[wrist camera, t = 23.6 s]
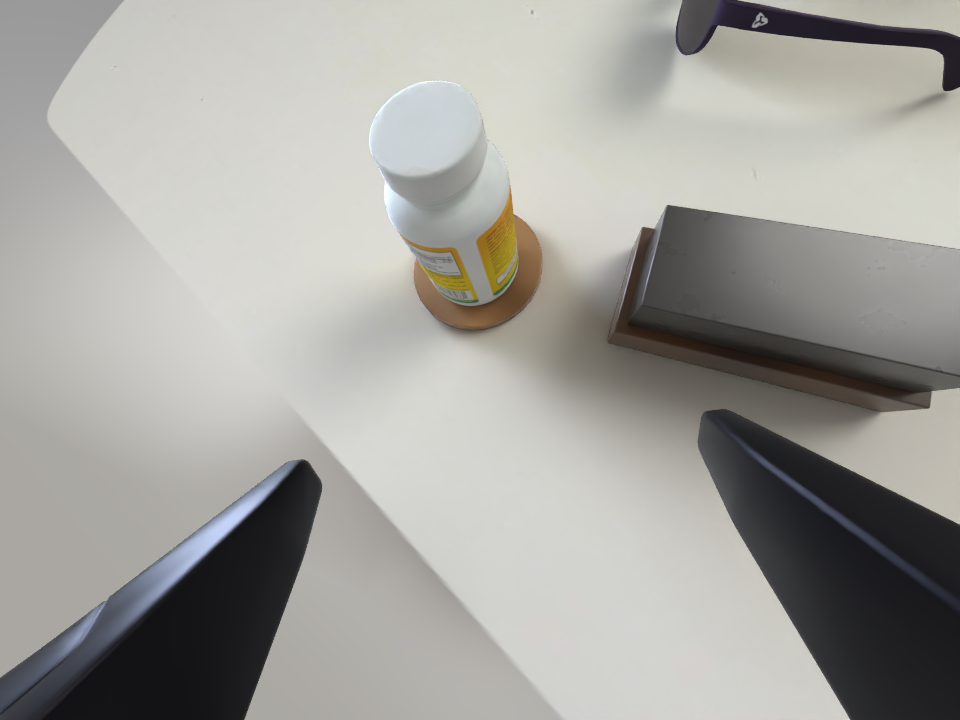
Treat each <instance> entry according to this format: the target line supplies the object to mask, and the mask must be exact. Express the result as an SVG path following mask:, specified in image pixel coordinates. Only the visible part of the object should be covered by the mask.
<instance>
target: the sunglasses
mask: <svg viewBox="0 0 960 720" xmlns="http://www.w3.org/2000/svg"><path fill="white" fill-rule="evenodd" d="M718 25H719V26H726V27H732V28H738V29H742V30H749V31H756V32H763V33H770V34H777V35H785V36H794V37H802V38H812V39H821V40H832V41H843V42H854V43H867V44H880V45H895V46H909V47H920V48H929V49H933V50H936V51H938V52H940V53H941V54H942V55H943V57H944V70H943V83H942V87H943V90H944V91H951V90H954V89H956V88H959V87H960V37H958V36H955V35H953V34H950V33H947V32H943V31H938V30H930V29H916V28H901V27H891V26H880V25H874V24H867V23H861V22H855V21H849V20H842V19H836V18H830V17H824V16H818V15H812V14H806V13H800V12H795V11H790V10H785V9H780V8H776V7H771V6H766V5H761V4H756V3H750V2H743V1H738V0H683V1H682V5H681V9H680V13H679V17H678V21H677V26H676V44H677V47H678V49H679V51H680V52H681V53H682V54H684V55H691V54H695V53H697V52H699V51H701V50H702V49H703V48H704V47H705V46H706V44H707V43H708V42H709V40H710V39H711V37H712V35H713V33H714V32H715V30H716V28H717V26H718ZM692 51H693V52H692Z"/></svg>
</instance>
